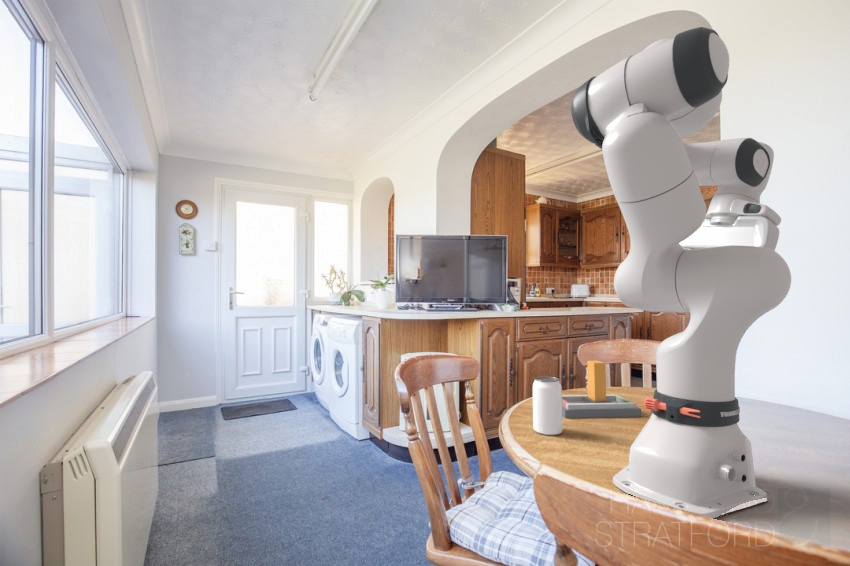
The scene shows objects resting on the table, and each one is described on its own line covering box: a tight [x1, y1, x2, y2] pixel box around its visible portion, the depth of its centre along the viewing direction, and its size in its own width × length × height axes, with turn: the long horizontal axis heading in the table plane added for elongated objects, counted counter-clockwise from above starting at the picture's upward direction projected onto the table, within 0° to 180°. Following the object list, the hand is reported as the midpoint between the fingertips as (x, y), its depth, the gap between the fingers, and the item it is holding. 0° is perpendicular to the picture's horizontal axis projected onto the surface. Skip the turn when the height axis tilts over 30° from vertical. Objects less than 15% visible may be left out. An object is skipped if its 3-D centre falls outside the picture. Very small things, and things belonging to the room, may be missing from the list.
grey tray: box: [562, 394, 643, 419], centre depth 107 cm, size 20×11×3 cm, turn 92°
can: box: [532, 375, 563, 437], centre depth 91 cm, size 6×6×12 cm
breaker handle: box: [583, 360, 612, 403], centre depth 107 cm, size 5×6×11 cm
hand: (709, 270), depth 90 cm, fingers open, 8 cm apart
